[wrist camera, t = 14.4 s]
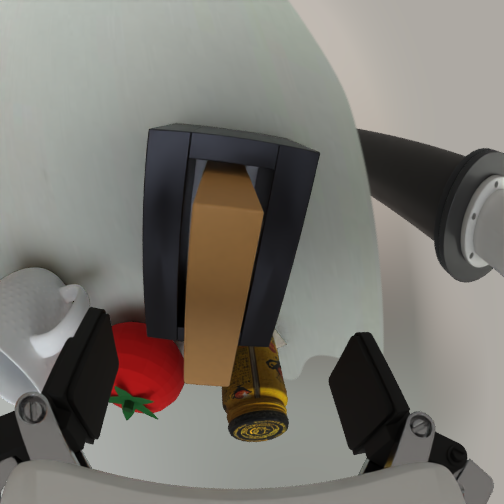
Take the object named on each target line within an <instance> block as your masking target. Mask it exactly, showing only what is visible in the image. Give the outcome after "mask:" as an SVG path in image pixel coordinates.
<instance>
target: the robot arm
mask: <svg viewBox="0 0 504 504" xmlns="http://www.w3.org/2000/svg"><path fill="white" fill-rule="evenodd" d="M460 242H461V250H462V254H463V256H464V258H465V260H466V261H467V262H469V263H470V264H471V265H472V266H474V267H478V268H480V267H484V266H487V265H490V266H491V267H493V268H494V269H495V270H496V271H498V272H499V273H500V274H501V275H502V276H503V277H504V176H501V175H492V176H490V177H488V178H487V179H486V180H485V181H483V182H482V183H481V184H480V186H479V187H478V188H477V189H476V191H475V193H474V194H473V196H472V198H471V200H470V202H469V204H468V206H467V209H466V212H465V215H464V219H463V223H462V229H461V241H460ZM118 368H119V359H118V355H117V350H116V346H115V341H114V336H113V331H112V326H111V320H110V315H109V314H106V312H105V310H104V309H98V308H93V307H90V308H89V309H88V311H87V312H86V314H85V316H84V318H83V320H82V321H81V323H80V325H79V327H78V329H77V331H76V333H75V334H74V336H73V337H69V338H68V339H67V341H66V342H65V344H64V346H63V348H62V350H61V352H60V354H59V356H58V358H57V360H56V362H55V364H54V366H53V368H52V370H51V372H50V374H49V376H48V379H47V381H46V383H45V385H44V387H43V390H42V392H41V394H40V393H38V392H33V391H32V392H27V393H25V394H23V395H21V396H20V397H19V398H18V400H17V402H16V405H15V411H13V412H10V413H8V414H5V415H3V416H0V504H486V503H487V501H488V499H489V497H490V495H491V493H492V491H493V488H494V483H493V480H492V478H491V477H490V476H489V475H488V474H487V473H485V472H484V471H483V470H482V469H481V468H480V467H479V466H478V465H476V464H475V463H474V462H473V461H472V460H471V459H469V460H467V452H466V450H465V448H464V447H463V446H462V445H461V444H459V443H457V442H455V441H453V440H451V439H449V438H447V437H445V436H443V435H441V434H439V433H437V432H435V424H434V422H433V420H432V418H431V417H430V416H429V415H427V414H426V413H423V412H413V413H411V414H410V413H409V410H410V408H409V406H408V404H407V402H406V400H405V398H404V396H403V394H402V392H401V390H400V388H399V386H398V384H397V382H396V380H395V378H394V376H393V374H392V372H391V370H390V368H389V366H388V364H387V362H386V360H385V358H384V356H383V354H382V353H381V351H380V349H379V347H378V345H377V343H376V341H375V339H374V338H373V336H372V334H371V333H369V332H357V333H355V335H354V336H352V337H351V338H350V340H349V342H348V344H347V346H346V348H345V350H344V351H343V353H342V355H341V357H340V359H339V361H338V363H337V364H336V366H335V368H334V370H333V371H332V373H331V375H330V377H329V386H330V389H331V392H332V395H333V398H334V402H335V405H336V408H337V411H338V414H339V418H340V421H341V424H342V427H343V431H344V434H345V437H346V441H347V444H348V447H349V449H351V450H352V451H353V454H354V455H357V454H362V453H366V456H367V458H366V460H365V462H364V464H363V466H362V468H361V470H360V472H359V474H358V475H357V476H353V477H348V478H343V479H338V480H333V481H328V482H321V483H314V484H308V485H299V486H290V487H278V488H264V489H263V488H262V489H215V488H198V487H187V486H177V485H169V484H162V483H155V482H149V481H144V480H139V479H133V478H128V477H123V476H118V475H115V474H110V473H107V472H103V471H99V470H95V469H92V467H91V466H90V464H89V462H88V460H87V459H86V457H85V455H84V453H83V451H82V449H83V448H84V444H85V442H86V443H89V444H94V440H95V439H98V438H99V436H100V432H101V428H102V424H103V420H104V417H105V413H106V409H107V406H108V402H109V399H110V395H111V392H112V388H113V385H114V382H115V378H116V375H117V372H118ZM6 481H7V482H6ZM4 486H5V487H4ZM3 487H4V491H3V494H2V498H1V490H2V489H3Z"/></svg>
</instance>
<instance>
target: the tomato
mask: <svg viewBox="0 0 504 504" xmlns="http://www.w3.org/2000/svg"><path fill="white" fill-rule="evenodd" d="M112 331H113V336H114V341H115V346H116V350H117V355H118V359H119V368H118V372H117V375H116V378H115V382H114V385H113V388H112V392H111V395H110V399H109V403H113V404H115V405H116V406H119V407H120V408H122V410H123V414H124V416H125V418H126V420H128V419H129V418H130V417H131V416H132V415H133V413H134V412H138V413H145V414H147V415H149V416H151V417H154V418H155V419H158V418H157V417H156V416H155V415H154V414H153V413H155V412H158V411H161V410H163V409H164V408H166V407H167V406H168V405H170V404H171V403H172V402H174V401H175V400H176V399H177V397H178V396H179V394H180V392H181V390H182V388H183V386H184V358H183V356H182V354H181V352H180V351H179V349H178V347H177V345H176V344H175V342H174V341H173V340H167V339H159V338H152V337H147V330H146V324H145V323H139V322H124V323H118V324H115V325H113V326H112Z"/></svg>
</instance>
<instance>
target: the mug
mask: <svg viewBox="0 0 504 504" xmlns="http://www.w3.org/2000/svg"><path fill="white" fill-rule="evenodd" d="M72 301H74V303H73V305H72ZM89 307H90V301H89V297H88V294H87V292H86V291H85V289H84V288H83V287H82V286H80V285H78V284H70V285H67V286H65V284H64V283H63V282H62V280H61V279H60V278H59V277H58V276H57V275H55V274H54V273H52V272H51V271H49V270H46V269H43V268H25V269H21V270H19V271H16V272H14V273H12V274H9V275H8V276H6V277H5V278H3V279H1V280H0V397H1V398H3V399H4V400H6V401H7V402H9V403H11V404H13V405H16V402H17V400H18V398H19V397H20V396H21V395H23V394H25V393H27V392H32V391H33V392H38V393H40V394H41V392H42V390H43V387H44V385H45V383H46V381H47V379H48V376H49V374H50V372H51V370H52V368H53V366H54V364H55V362H56V360H57V358H58V356H59V354H60V352H61V350H62V348H63V346H64V344H65V342H66V341H67V339H68V338H69V337H73V336H74V334H75V333H76V331H77V329H78V327H79V325H80V323H81V321H82V320H83V318H84V316H85V314H86V312H87V311H88V309H89Z"/></svg>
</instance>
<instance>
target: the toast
mask: <svg viewBox="0 0 504 504" xmlns="http://www.w3.org/2000/svg"><path fill="white" fill-rule="evenodd" d="M263 215H264V212H263V209H262V207H261V204H260V202H259V199H258V197H257V194H256V192H255V189H254V187H253V185H252V182H251V180H250V177H249V175H248V172H247V170H246V167H245V165H240V164H232V163H225V162H217V161H208V160H207V163H206V166H205V169H204V172H203V175H202V178H201V181H200V184H199V187H198V190H197V193H196V196H195V199H194V202H193V206H192V216H191V227H190V239H189V252H188V266H187V282H186V302H185V329H184V383H186V384H196V385H208V386H225V387H228V386H229V385H230V380H231V375H232V370H233V365H234V360H235V355H236V350H237V345H238V340H239V336H240V331H241V326H242V321H243V316H244V311H245V306H246V301H247V296H248V291H249V286H250V281H251V276H252V271H253V266H254V260H255V255H256V250H257V245H258V240H259V235H260V230H261V225H262V220H263Z"/></svg>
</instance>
